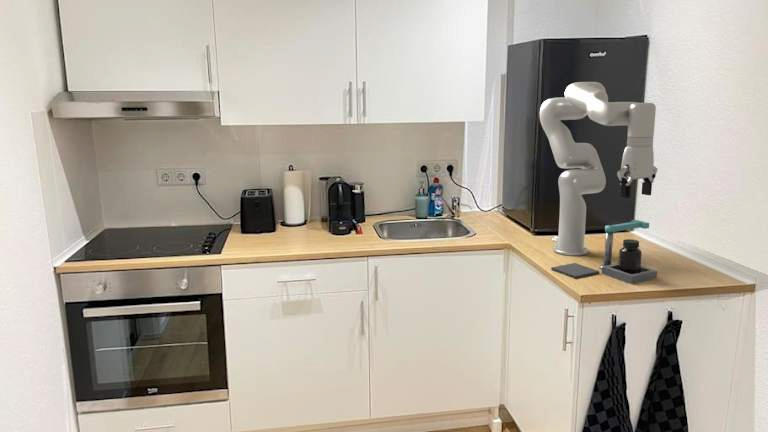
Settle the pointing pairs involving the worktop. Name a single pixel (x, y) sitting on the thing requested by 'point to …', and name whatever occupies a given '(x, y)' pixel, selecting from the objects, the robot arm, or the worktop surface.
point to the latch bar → (626, 226)
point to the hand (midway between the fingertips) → (635, 196)
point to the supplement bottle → (630, 257)
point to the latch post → (608, 250)
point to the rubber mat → (575, 270)
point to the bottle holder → (629, 278)
